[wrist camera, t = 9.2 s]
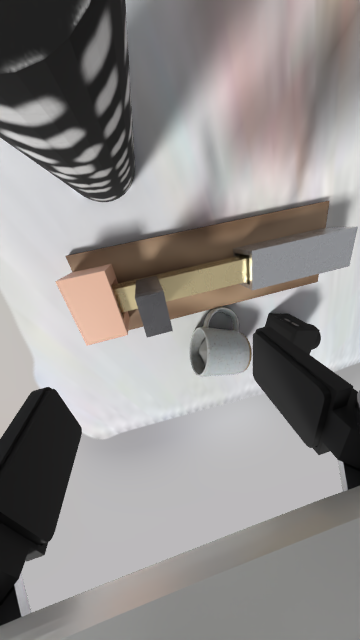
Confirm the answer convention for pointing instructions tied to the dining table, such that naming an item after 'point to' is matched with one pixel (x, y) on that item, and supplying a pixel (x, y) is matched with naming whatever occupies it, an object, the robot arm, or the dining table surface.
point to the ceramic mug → (219, 348)
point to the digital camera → (295, 331)
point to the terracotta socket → (94, 303)
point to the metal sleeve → (297, 256)
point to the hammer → (177, 289)
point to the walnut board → (203, 256)
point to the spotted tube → (69, 91)
